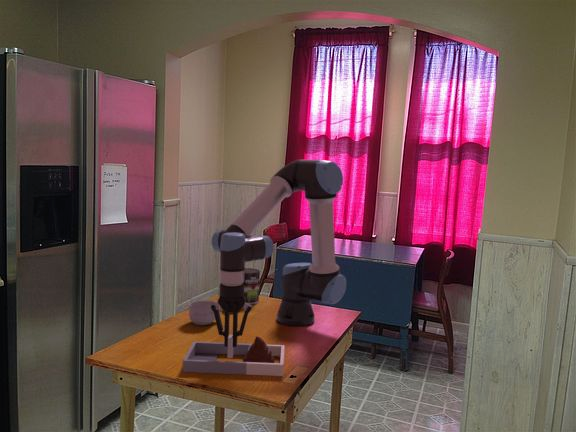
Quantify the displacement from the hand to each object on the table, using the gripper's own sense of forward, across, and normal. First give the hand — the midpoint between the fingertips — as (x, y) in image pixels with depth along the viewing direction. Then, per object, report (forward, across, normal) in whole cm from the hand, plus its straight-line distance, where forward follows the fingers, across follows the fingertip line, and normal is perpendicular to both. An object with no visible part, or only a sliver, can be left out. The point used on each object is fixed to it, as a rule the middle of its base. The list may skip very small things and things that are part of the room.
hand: (230, 356), depth 161 cm
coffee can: (+3, +1, -69) cm, 69 cm away
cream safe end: (+2, -11, 0) cm, 11 cm away
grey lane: (+2, +4, 0) cm, 4 cm away
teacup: (+3, +14, -38) cm, 40 cm away
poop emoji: (+3, -9, 0) cm, 9 cm away
